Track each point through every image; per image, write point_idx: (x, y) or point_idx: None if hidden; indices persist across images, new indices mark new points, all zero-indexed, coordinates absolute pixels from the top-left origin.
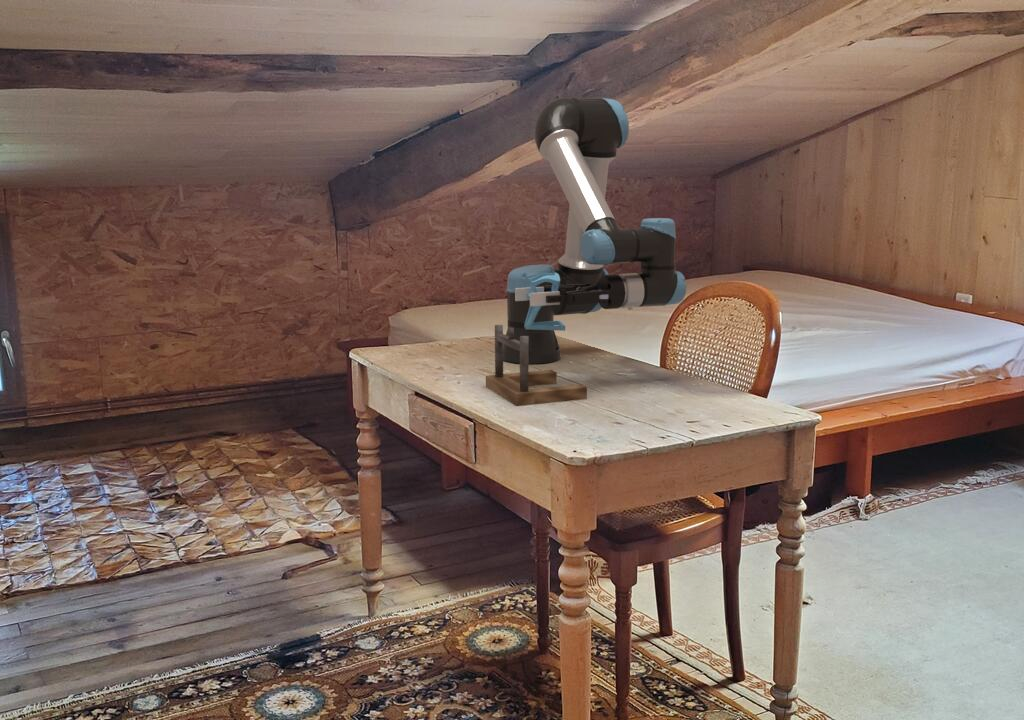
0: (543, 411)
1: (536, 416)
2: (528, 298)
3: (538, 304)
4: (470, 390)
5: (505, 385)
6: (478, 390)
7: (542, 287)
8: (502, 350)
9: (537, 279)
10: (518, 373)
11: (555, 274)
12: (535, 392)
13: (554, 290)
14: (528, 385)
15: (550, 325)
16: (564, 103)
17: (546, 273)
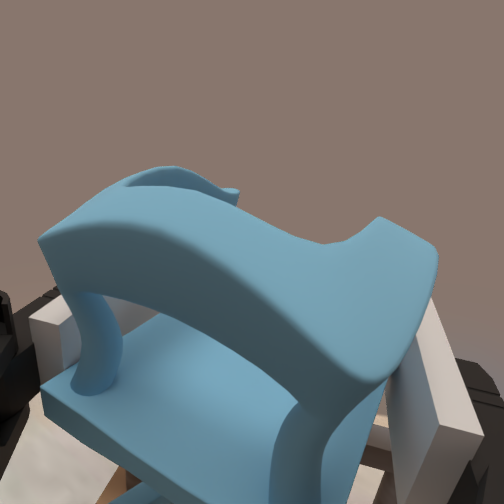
0: (29, 484)
1: (23, 440)
2: (388, 380)
3: None
4: (356, 480)
5: None
6: (348, 498)
7: (432, 409)
8: (383, 501)
9: (214, 185)
10: None
11: (131, 188)
12: (98, 499)
13: (272, 461)
14: (127, 480)
15: (141, 500)
16: None
17: (366, 232)
